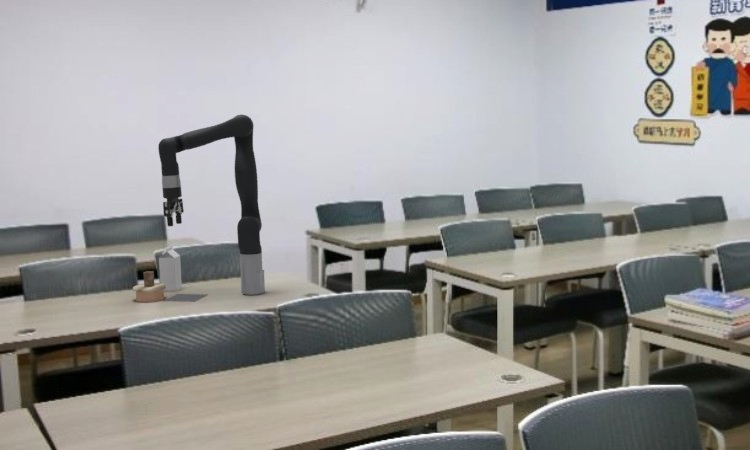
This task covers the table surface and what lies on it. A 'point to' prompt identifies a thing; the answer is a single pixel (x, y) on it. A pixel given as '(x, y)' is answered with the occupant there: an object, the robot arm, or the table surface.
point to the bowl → (150, 296)
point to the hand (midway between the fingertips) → (174, 224)
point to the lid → (149, 283)
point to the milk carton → (170, 270)
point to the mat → (186, 297)
